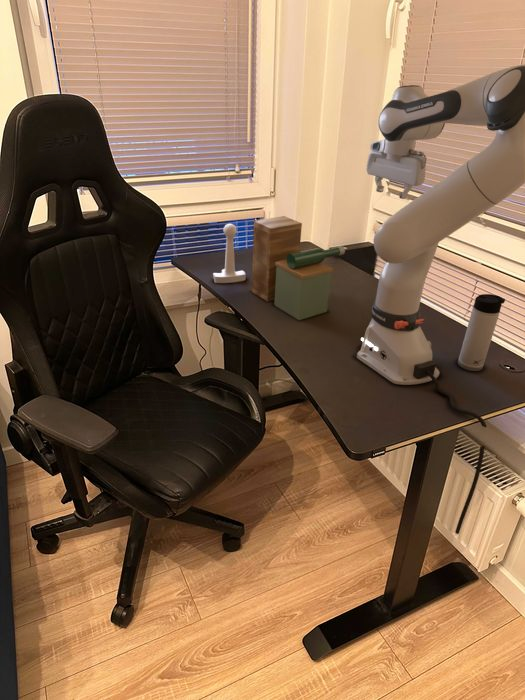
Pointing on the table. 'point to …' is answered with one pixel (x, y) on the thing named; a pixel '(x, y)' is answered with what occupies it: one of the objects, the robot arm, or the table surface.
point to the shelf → (272, 251)
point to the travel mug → (480, 331)
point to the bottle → (312, 256)
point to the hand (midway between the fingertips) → (390, 195)
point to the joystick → (229, 260)
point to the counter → (302, 289)
